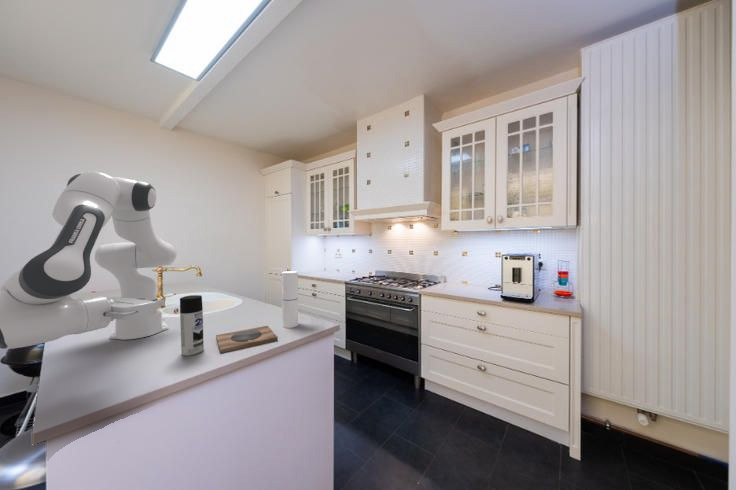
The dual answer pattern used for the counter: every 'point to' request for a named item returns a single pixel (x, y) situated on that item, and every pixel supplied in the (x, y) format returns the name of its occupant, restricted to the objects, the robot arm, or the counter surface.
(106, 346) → the counter surface
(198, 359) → the counter surface
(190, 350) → the spray can
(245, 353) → the counter surface
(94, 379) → the counter surface
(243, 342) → the board
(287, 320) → the cylindrical container
